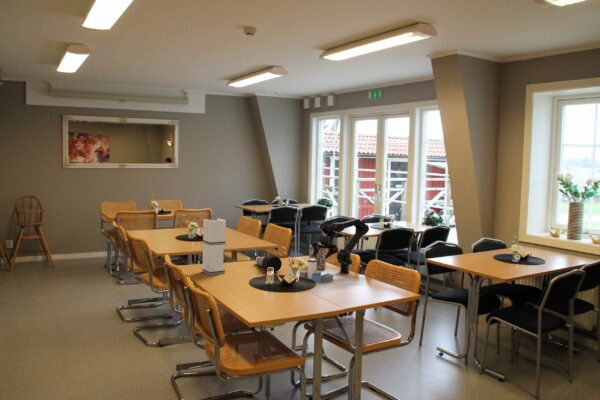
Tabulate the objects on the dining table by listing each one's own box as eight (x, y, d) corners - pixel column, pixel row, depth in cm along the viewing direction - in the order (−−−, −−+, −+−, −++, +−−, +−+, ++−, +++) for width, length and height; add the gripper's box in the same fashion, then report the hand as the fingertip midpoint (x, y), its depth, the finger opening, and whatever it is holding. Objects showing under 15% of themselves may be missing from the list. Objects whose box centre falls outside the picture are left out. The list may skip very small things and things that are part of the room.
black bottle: (259, 269, 372) (265, 256, 374) (277, 274, 341) (284, 260, 343) (248, 263, 368) (254, 250, 370) (265, 268, 337) (271, 254, 339)
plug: (307, 278, 324) (307, 259, 323) (311, 276, 327) (311, 258, 327) (312, 279, 322) (313, 260, 321) (316, 278, 325) (317, 259, 324)
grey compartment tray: (298, 279, 324) (299, 271, 324) (307, 276, 332) (307, 269, 331) (324, 284, 312) (325, 276, 312) (333, 282, 320) (333, 274, 319)
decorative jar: (325, 269, 357) (326, 244, 356) (308, 268, 358) (309, 243, 356) (324, 266, 369) (325, 241, 368) (308, 265, 369) (309, 240, 368)
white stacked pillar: (224, 273, 334) (225, 220, 331) (209, 275, 328) (210, 220, 325) (217, 270, 343) (218, 218, 341) (202, 271, 337) (203, 218, 335)
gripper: (313, 229, 338) (302, 248, 330) (336, 232, 327) (326, 251, 319) (319, 239, 345) (309, 258, 337) (343, 243, 334) (333, 262, 326)
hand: (319, 257), depth 329 cm, fingers open, 9 cm apart
